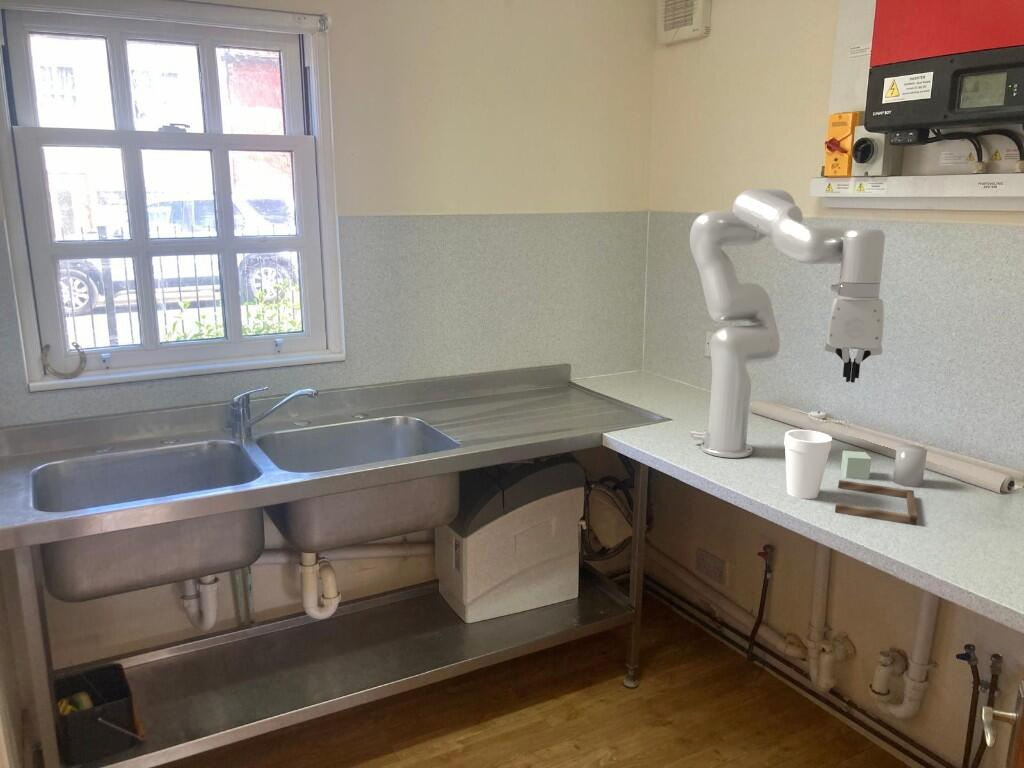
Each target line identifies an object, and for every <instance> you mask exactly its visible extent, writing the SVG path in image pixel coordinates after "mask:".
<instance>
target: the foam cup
mask: <svg viewBox="0 0 1024 768" xmlns="http://www.w3.org/2000/svg"><path fill="white" fill-rule="evenodd" d="M832 441H833V437H832V436H831V435H830V434H826V433H824V432H821V431H818V430H811V429H790V430H789V431H785V434H784V441H783V442H784V444H783V445H784V449H785V452H784V453H785V478H786V480H785V481H786V493H787V494H788V495H789V496H792V497H793V498H798V499H803V500H804V499H805V500H810V499H811V500H812V499H816V498H818V495H819V493H820V490H821V486H822V482H823V477H824V473H825V469H826V466H827V461H828V458H829V454H830V452H831V449H832Z"/></svg>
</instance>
